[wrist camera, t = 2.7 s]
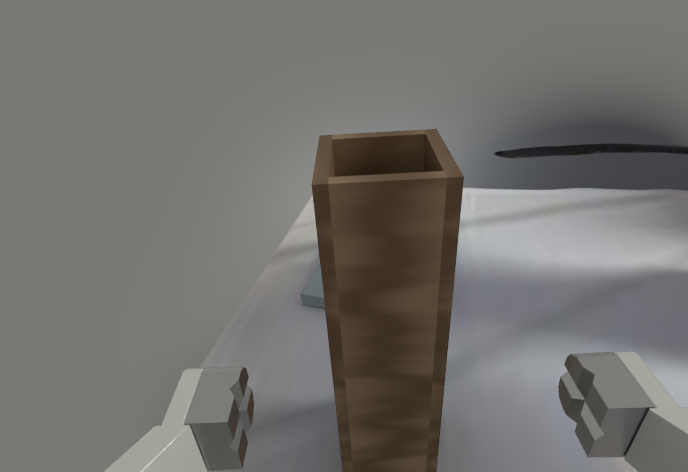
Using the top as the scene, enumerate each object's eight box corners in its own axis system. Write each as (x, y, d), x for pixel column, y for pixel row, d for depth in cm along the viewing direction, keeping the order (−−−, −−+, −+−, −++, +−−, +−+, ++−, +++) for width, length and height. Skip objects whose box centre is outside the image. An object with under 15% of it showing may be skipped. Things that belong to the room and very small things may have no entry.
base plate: (446, 244, 57) (450, 191, 53) (427, 326, 44) (430, 264, 40) (346, 232, 61) (342, 182, 57) (302, 304, 48) (294, 246, 44)
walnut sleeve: (421, 409, 36) (436, 128, 23) (434, 487, 31) (463, 176, 18) (345, 412, 36) (319, 135, 24) (344, 490, 31) (311, 184, 18)
